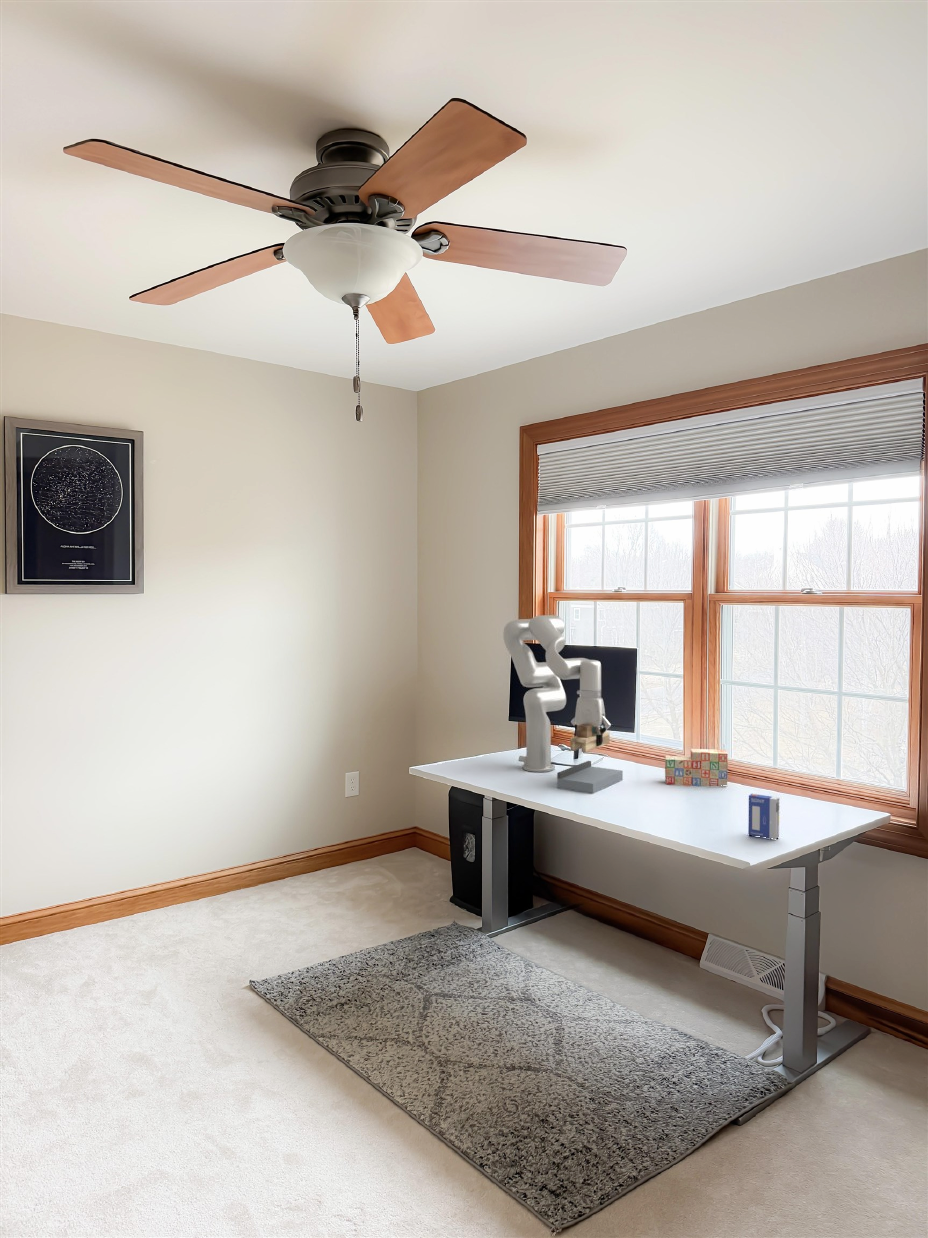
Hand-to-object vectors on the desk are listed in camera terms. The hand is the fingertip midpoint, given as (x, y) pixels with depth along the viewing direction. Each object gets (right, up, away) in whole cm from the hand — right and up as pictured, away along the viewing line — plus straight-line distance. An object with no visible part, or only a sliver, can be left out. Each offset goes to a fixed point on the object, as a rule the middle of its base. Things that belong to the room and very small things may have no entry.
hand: (590, 743), depth 299 cm
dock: (0, -15, +1) cm, 15 cm away
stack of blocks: (+38, -15, 0) cm, 41 cm away
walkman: (+40, -17, -63) cm, 76 cm away
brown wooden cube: (-3, +3, -4) cm, 6 cm away
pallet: (0, -1, 0) cm, 1 cm away
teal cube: (+2, +4, +4) cm, 6 cm away
